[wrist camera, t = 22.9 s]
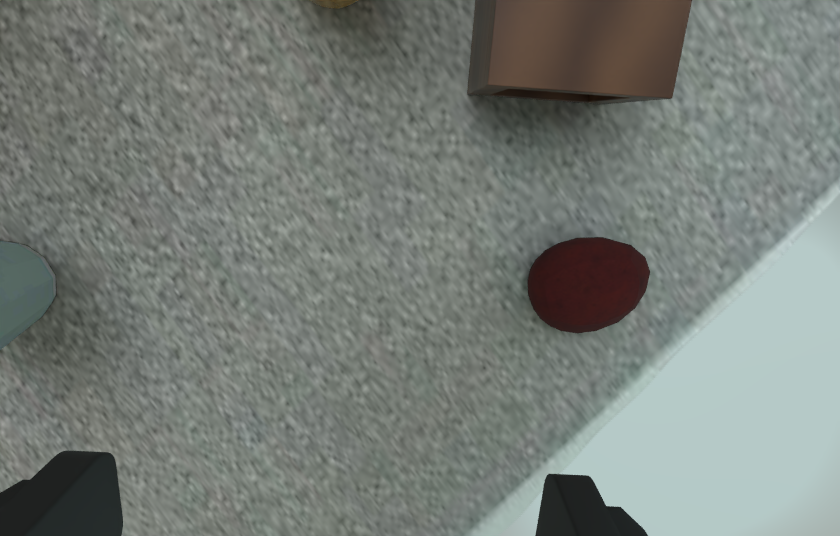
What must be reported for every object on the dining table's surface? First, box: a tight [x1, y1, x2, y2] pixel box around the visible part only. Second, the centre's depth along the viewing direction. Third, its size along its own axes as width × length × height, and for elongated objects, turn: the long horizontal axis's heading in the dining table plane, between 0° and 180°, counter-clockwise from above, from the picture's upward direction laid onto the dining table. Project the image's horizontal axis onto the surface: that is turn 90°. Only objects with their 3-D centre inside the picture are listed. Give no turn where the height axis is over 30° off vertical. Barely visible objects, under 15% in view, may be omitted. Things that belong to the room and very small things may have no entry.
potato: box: [528, 237, 650, 333], centre depth 37 cm, size 8×9×6 cm
